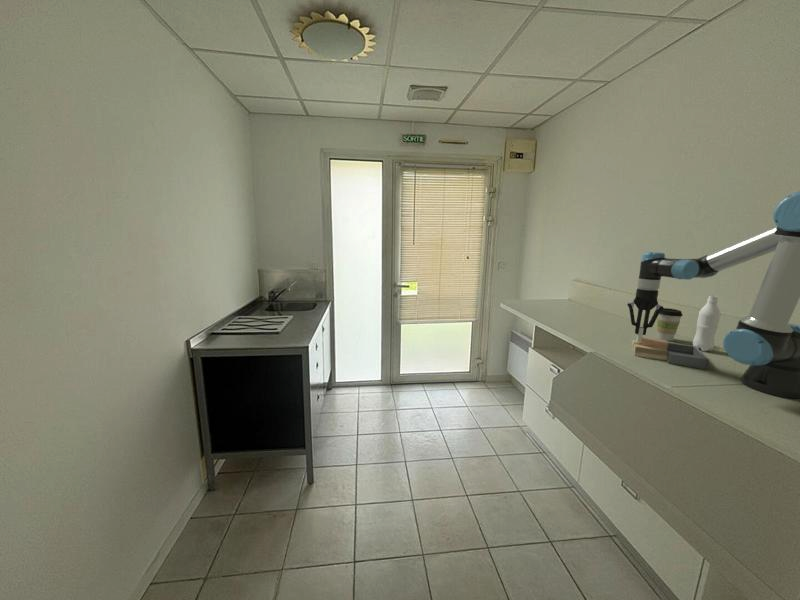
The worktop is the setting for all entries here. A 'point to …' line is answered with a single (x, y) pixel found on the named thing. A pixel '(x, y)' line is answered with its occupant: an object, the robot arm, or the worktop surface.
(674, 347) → the tray
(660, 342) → the tile
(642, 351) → the board
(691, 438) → the worktop surface
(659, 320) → the coffee cup
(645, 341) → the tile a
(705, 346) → the water bottle
